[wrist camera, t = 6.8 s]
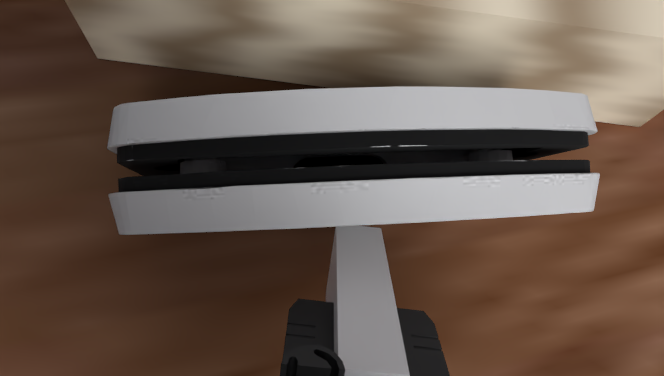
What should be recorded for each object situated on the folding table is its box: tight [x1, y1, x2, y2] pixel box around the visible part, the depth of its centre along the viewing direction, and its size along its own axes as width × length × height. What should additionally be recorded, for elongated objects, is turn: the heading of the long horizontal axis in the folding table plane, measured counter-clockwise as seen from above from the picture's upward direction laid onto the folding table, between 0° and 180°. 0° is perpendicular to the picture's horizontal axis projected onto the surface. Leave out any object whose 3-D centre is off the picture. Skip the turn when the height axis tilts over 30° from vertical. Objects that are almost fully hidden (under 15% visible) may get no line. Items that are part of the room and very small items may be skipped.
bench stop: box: [65, 0, 664, 127], centre depth 21 cm, size 26×2×6 cm, turn 85°
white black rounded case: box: [107, 86, 600, 235], centre depth 18 cm, size 17×5×10 cm, turn 95°
